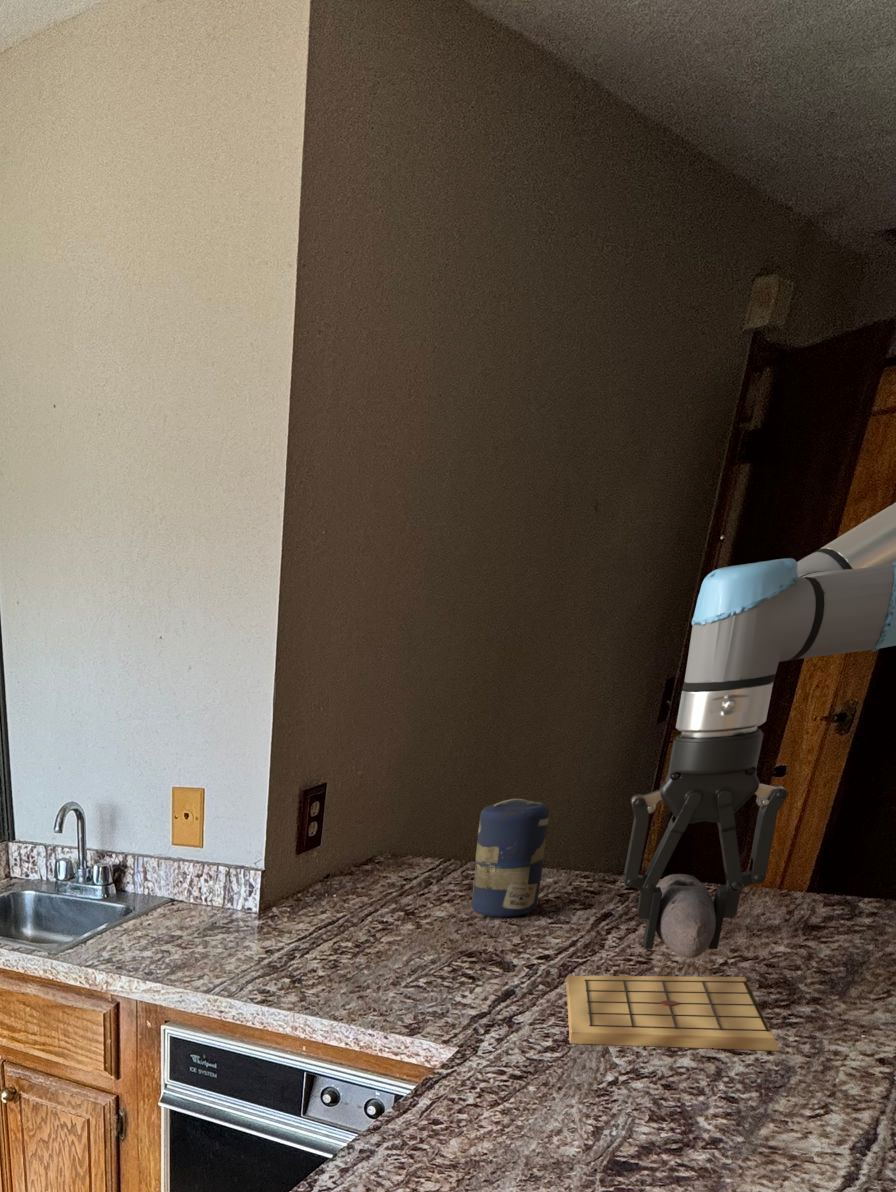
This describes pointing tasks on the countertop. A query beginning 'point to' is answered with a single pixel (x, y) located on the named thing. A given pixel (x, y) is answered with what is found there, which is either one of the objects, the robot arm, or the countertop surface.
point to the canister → (509, 857)
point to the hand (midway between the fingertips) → (679, 945)
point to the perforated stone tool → (685, 915)
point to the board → (666, 1012)
